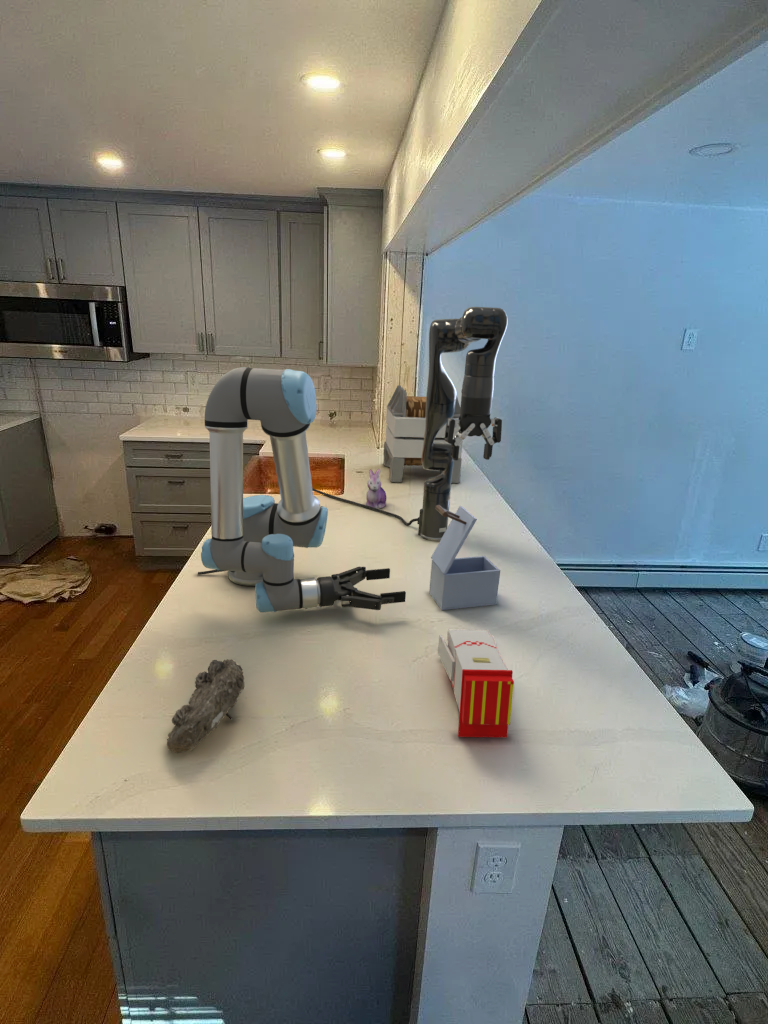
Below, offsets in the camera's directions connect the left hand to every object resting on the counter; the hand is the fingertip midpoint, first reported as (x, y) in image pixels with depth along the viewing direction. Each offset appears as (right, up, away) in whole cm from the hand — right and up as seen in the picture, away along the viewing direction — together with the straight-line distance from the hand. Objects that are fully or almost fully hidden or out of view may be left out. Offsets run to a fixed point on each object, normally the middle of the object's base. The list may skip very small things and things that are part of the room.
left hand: (397, 584), depth 150 cm
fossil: (-36, -20, -42) cm, 59 cm away
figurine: (-7, +22, +77) cm, 80 cm away
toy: (+14, -18, -32) cm, 39 cm away
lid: (+15, +12, 0) cm, 19 cm away
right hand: (+18, +32, -7) cm, 38 cm away
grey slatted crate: (+14, +38, +125) cm, 131 cm away
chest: (+18, -5, +7) cm, 20 cm away
